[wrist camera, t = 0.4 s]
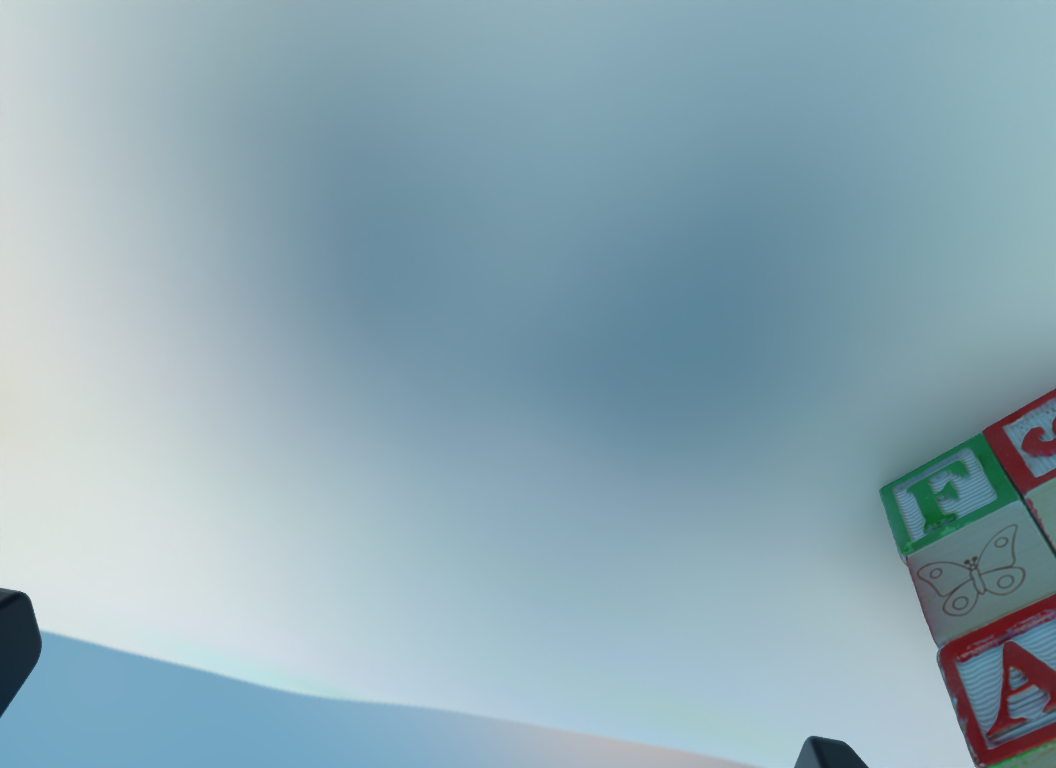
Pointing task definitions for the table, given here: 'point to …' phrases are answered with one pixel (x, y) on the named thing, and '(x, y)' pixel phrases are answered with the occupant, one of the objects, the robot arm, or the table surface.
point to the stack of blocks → (990, 580)
